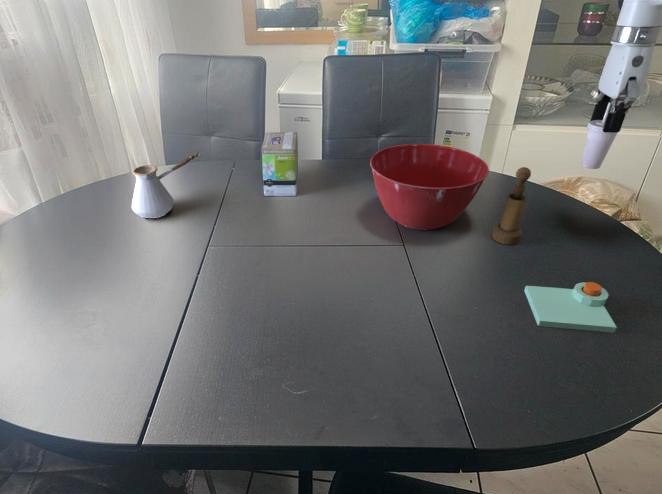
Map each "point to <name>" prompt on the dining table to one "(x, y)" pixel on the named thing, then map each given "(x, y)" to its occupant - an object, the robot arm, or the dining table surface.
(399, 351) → the dining table surface
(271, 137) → the tea box
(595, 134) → the smoothie
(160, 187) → the coffee pot
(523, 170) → the mortar and pestle
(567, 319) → the mint green button board
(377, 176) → the mixing bowl
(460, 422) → the dining table surface
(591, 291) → the button
